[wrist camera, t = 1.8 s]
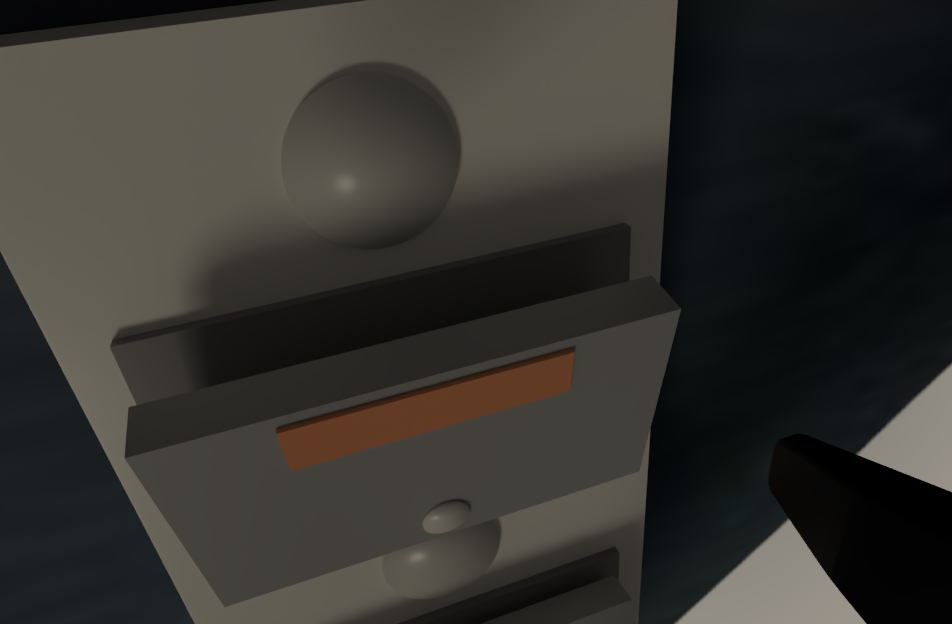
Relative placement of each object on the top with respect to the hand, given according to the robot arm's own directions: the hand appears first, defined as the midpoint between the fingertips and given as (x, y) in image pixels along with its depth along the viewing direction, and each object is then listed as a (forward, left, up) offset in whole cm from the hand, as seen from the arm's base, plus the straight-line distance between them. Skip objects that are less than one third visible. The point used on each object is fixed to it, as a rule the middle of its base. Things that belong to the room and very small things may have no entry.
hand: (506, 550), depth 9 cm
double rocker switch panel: (-8, 0, -10) cm, 13 cm away
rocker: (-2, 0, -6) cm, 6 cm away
